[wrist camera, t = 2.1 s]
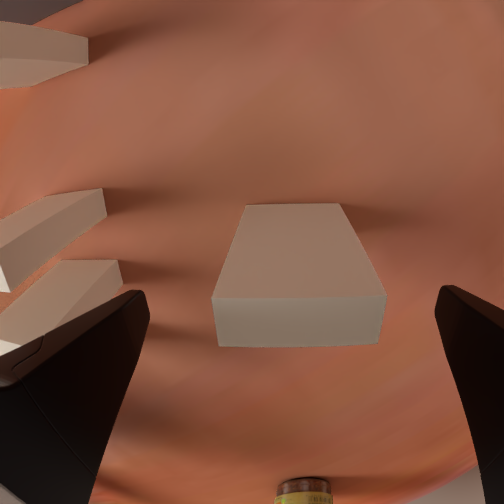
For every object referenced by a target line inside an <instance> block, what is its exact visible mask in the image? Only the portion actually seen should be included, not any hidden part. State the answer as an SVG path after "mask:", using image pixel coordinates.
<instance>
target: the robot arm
mask: <svg viewBox="0 0 504 504" xmlns="http://www.w3.org/2000/svg"><path fill="white" fill-rule="evenodd" d="M435 318H436V322H437V325H438V329H439V332H440V336H441V339H442V343H443V347H444V351H445V354H446V357H447V360H448V363H449V366H450V369H451V371H452V374H453V377H454V380H455V383H456V386H457V389H458V392H459V395H460V398H461V401H462V405H463V408H464V411H465V415H466V418H467V421H468V425H469V429H470V432H471V436H472V440H473V444H474V448H475V452H476V456H477V460H478V465H479V469H480V473H481V480H482V485H483V490H484V496H485V502H486V504H504V310H502V309H500V308H499V307H497V306H495V305H493V304H491V303H489V302H487V301H485V300H483V299H481V298H479V297H477V296H475V295H473V294H471V293H469V292H467V291H465V290H463V289H461V288H459V287H457V286H455V285H444V286H442V287H441V288H440V291H439V294H438V298H437V302H436V306H435ZM149 320H150V312H149V308H148V304H147V301H146V297H145V294H144V292H143V291H142V290H129V291H127V292H125V293H123V294H121V295H119V296H117V297H115V298H113V299H111V300H109V301H107V302H105V303H103V304H101V305H99V306H98V307H96V308H94V309H92V310H90V311H88V312H86V313H84V314H82V315H80V316H78V317H76V318H74V319H72V320H70V321H68V322H67V323H65V324H63V325H61V326H59V327H57V328H55V329H53V330H51V331H49V332H47V333H46V334H45V335H42V336H40V337H38V338H36V339H34V340H32V341H30V342H28V343H26V344H24V345H22V346H20V347H18V348H16V349H14V350H12V351H10V352H8V353H5V354H3V355H1V356H0V504H88V502H89V499H90V496H91V493H92V489H93V486H94V483H95V480H96V476H97V473H98V470H99V467H100V464H101V461H102V458H103V455H104V452H105V449H106V446H107V443H108V440H109V437H110V434H111V431H112V429H113V426H114V423H115V420H116V417H117V415H118V412H119V409H120V407H121V404H122V401H123V399H124V396H125V393H126V391H127V388H128V385H129V383H130V380H131V378H132V375H133V372H134V370H135V367H136V365H137V362H138V359H139V356H140V353H141V349H142V345H143V342H144V338H145V335H146V331H147V327H148V324H149Z"/></svg>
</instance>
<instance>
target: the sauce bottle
mask: <svg viewBox="0 0 504 504" xmlns="http://www.w3.org/2000/svg"><path fill="white" fill-rule="evenodd" d="M276 492H277V493H276V494H277V497H276V498H275V501H274V504H333V496H332V495H331V486H330V484H329V483H328V482H326V481H324V480H321V479H312V478H305V479H296V480H289V481H287V482H285V483H282V484H281V485H279V487H278V488H277V491H276Z"/></svg>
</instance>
